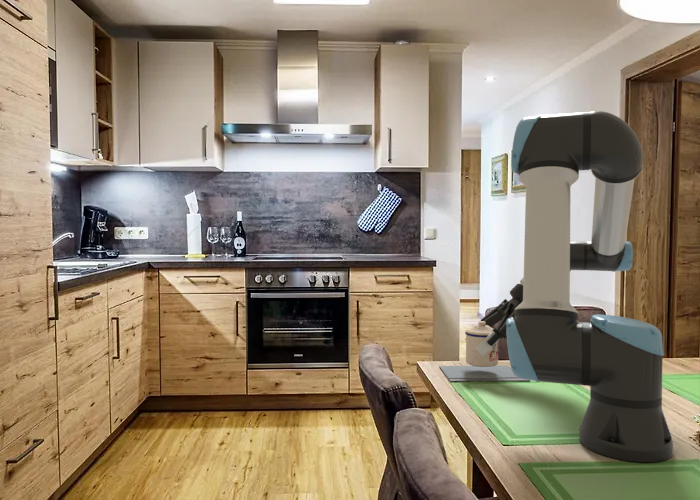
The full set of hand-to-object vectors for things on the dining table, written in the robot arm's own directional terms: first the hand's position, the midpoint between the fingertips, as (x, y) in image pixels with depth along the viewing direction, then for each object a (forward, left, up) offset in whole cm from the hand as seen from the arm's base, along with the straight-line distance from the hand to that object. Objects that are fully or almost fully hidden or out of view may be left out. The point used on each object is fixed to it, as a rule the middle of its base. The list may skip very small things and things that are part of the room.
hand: (473, 347), depth 150 cm
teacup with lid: (0, -3, -4) cm, 5 cm away
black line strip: (-8, -2, -7) cm, 11 cm away
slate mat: (0, -2, -7) cm, 7 cm away
